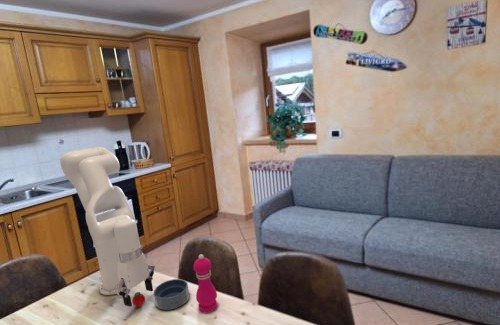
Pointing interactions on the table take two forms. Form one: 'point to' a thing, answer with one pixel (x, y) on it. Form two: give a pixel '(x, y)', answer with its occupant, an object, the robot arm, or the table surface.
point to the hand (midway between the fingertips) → (139, 297)
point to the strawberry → (138, 299)
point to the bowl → (171, 294)
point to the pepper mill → (205, 285)
